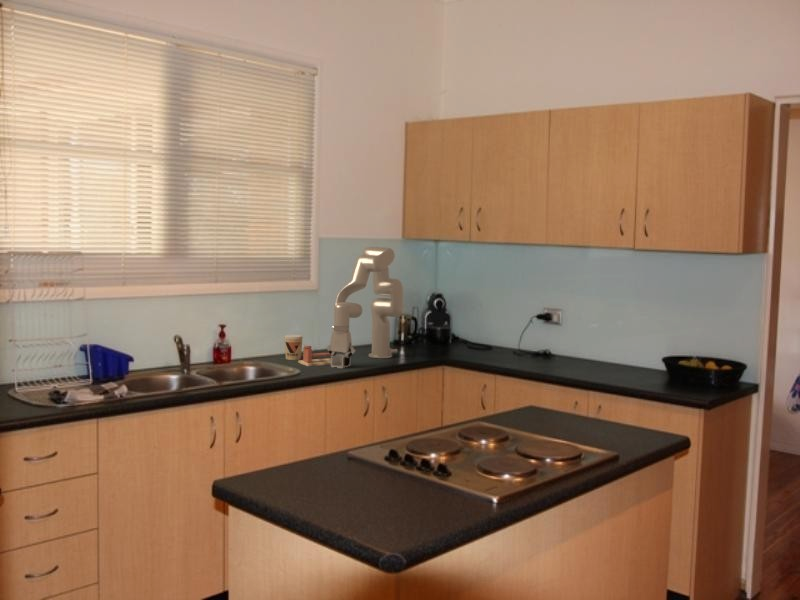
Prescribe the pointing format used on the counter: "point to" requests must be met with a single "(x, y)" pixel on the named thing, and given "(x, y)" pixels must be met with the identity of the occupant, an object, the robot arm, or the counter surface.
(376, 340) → the robot arm
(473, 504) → the counter surface
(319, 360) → the birch board
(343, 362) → the coupler lock
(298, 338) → the coffee cup
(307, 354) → the red toy hammer
